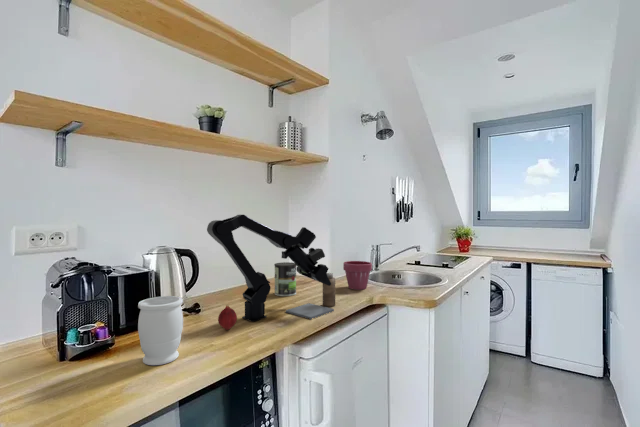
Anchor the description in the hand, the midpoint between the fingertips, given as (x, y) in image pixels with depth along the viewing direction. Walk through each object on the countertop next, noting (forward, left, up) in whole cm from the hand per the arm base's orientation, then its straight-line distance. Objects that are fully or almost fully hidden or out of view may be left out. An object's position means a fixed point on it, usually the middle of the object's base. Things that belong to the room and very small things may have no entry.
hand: (324, 282), depth 131 cm
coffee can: (+4, +27, -10) cm, 29 cm away
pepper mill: (+2, -1, -9) cm, 10 cm away
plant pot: (+36, +8, -10) cm, 38 cm away
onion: (-41, +6, -10) cm, 43 cm away
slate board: (-10, -1, -9) cm, 14 cm away
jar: (-64, +1, -10) cm, 65 cm away
